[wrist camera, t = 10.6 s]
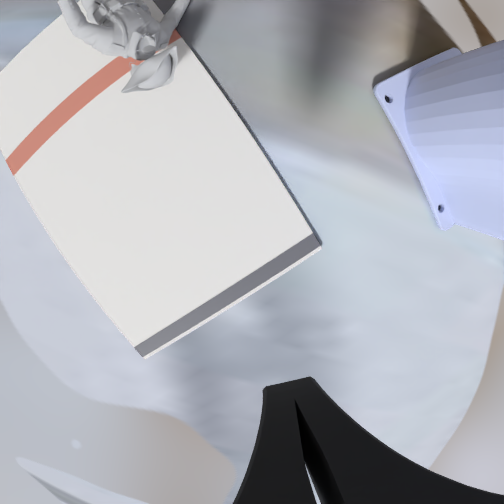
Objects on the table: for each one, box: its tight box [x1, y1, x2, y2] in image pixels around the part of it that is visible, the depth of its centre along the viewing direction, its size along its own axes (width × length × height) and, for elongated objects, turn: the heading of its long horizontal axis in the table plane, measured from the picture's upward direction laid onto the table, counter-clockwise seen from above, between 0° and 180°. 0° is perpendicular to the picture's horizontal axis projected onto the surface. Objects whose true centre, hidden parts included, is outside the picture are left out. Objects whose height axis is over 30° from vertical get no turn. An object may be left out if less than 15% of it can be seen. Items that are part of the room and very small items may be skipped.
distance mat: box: [0, 0, 322, 359], centre depth 15 cm, size 20×12×1 cm, turn 33°
